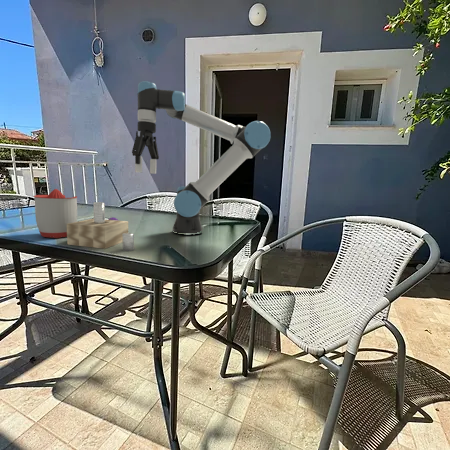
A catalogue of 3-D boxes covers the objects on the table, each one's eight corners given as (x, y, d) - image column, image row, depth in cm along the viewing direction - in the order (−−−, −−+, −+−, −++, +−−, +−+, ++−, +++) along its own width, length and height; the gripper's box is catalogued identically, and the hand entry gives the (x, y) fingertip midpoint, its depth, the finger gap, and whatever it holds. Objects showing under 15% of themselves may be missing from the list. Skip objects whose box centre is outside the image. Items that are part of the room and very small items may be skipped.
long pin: (107, 241, 110) (106, 202, 107) (101, 243, 106) (100, 203, 103) (98, 240, 111) (97, 201, 108) (92, 242, 107) (91, 202, 104)
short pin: (135, 248, 101) (135, 233, 100) (130, 251, 98) (130, 235, 97) (126, 247, 102) (126, 232, 101) (120, 250, 98) (120, 234, 97)
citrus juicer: (89, 233, 122) (88, 189, 119) (56, 241, 106) (54, 190, 102) (62, 230, 126) (60, 187, 123) (26, 236, 110) (23, 187, 106)
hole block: (128, 239, 115) (128, 221, 113) (105, 248, 99) (105, 227, 98) (94, 236, 117) (94, 218, 116) (67, 244, 102) (66, 223, 101)
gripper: (151, 128, 126) (151, 173, 130) (122, 114, 102) (122, 171, 106) (166, 128, 125) (165, 174, 129) (140, 115, 101) (140, 172, 104)
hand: (146, 173), depth 117 cm, fingers open, 13 cm apart
